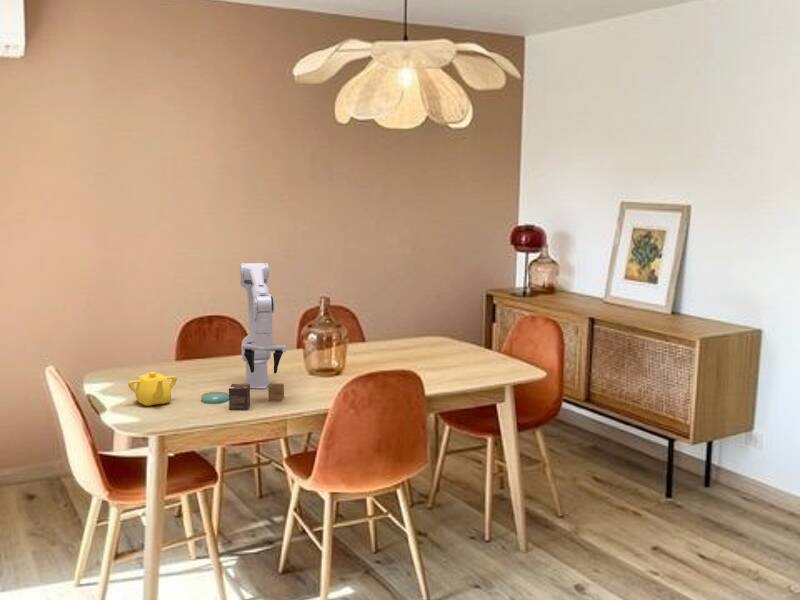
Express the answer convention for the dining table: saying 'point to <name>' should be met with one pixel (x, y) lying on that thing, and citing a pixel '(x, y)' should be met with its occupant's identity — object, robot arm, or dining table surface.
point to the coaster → (215, 397)
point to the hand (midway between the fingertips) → (263, 372)
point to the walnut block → (275, 392)
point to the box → (239, 396)
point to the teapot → (152, 388)
